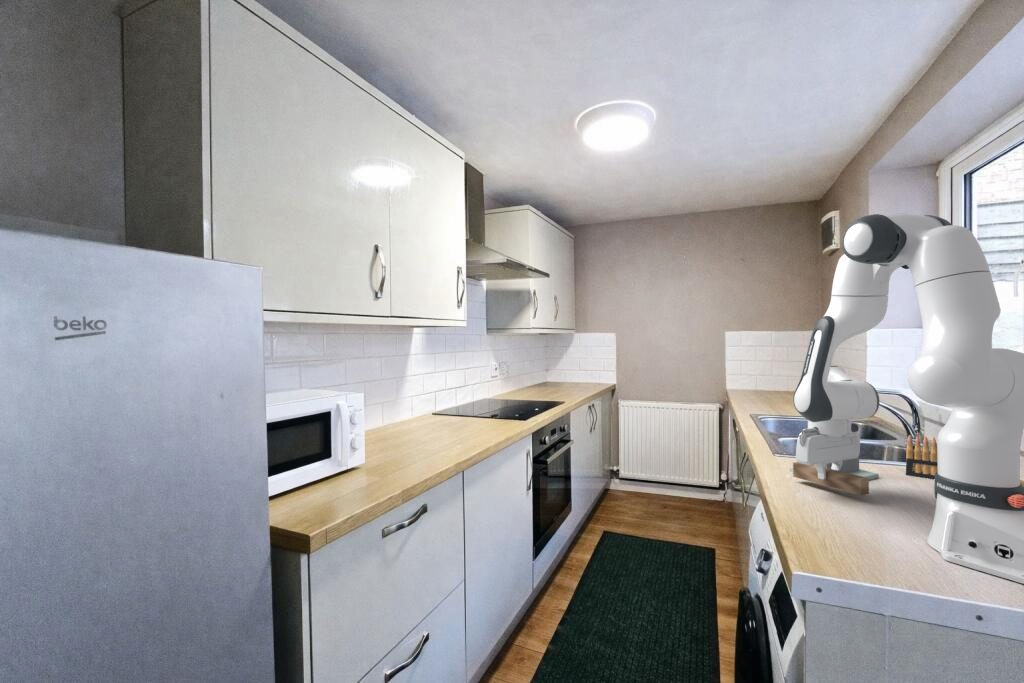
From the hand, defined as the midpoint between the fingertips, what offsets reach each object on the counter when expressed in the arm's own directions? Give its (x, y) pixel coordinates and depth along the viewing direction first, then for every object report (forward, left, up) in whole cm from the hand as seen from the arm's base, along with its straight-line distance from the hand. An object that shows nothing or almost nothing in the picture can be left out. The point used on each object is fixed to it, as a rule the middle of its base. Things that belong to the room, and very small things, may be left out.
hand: (828, 477), depth 123 cm
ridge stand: (+9, -15, -4) cm, 18 cm away
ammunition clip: (-4, -37, -4) cm, 37 cm away
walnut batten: (0, 0, -2) cm, 2 cm away
